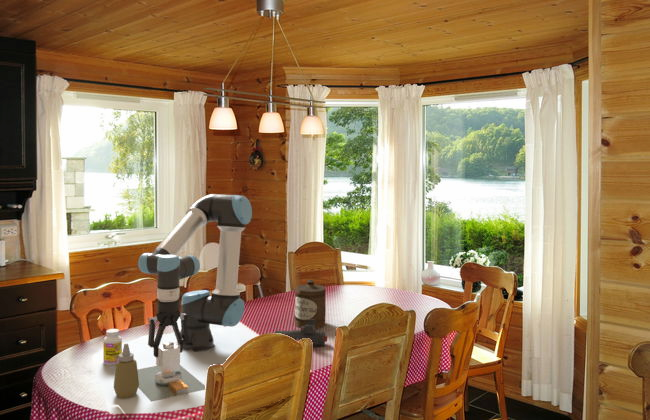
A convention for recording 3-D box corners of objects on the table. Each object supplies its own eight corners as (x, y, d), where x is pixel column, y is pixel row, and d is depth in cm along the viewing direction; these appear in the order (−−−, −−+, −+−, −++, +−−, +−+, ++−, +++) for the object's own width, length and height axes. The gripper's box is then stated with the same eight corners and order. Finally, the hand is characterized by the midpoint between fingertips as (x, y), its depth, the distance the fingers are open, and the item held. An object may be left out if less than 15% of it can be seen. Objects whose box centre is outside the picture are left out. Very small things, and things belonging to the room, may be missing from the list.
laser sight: (276, 340, 258) (277, 318, 257) (327, 342, 257) (328, 320, 256) (273, 347, 249) (274, 324, 248) (326, 349, 248) (326, 326, 247)
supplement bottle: (102, 366, 221) (102, 333, 220) (104, 360, 228) (103, 328, 226) (121, 365, 223) (121, 332, 222) (122, 359, 229) (122, 327, 228)
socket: (173, 364, 211) (173, 340, 210) (179, 369, 206) (179, 344, 205) (156, 367, 207) (156, 342, 206) (162, 373, 202) (162, 347, 201)
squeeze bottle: (108, 398, 193) (107, 346, 191) (124, 389, 201) (124, 338, 199) (128, 403, 190) (127, 349, 188) (144, 393, 198) (144, 342, 196)
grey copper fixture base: (151, 379, 208) (151, 362, 208) (175, 374, 213) (175, 357, 213) (169, 397, 194) (169, 378, 193) (194, 391, 199) (194, 373, 199)
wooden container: (288, 325, 281) (289, 280, 279) (306, 318, 293) (307, 275, 291) (313, 331, 272) (314, 284, 270) (331, 323, 284) (332, 279, 282)
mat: (176, 363, 227) (176, 361, 226) (208, 390, 202) (208, 388, 202) (124, 373, 215) (124, 371, 215) (151, 403, 191) (151, 401, 191)
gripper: (144, 305, 196) (144, 372, 198) (198, 298, 207) (198, 361, 209) (137, 300, 202) (137, 365, 204) (190, 294, 213) (189, 355, 215)
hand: (168, 363), depth 206 cm, fingers closed on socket, 6 cm apart
